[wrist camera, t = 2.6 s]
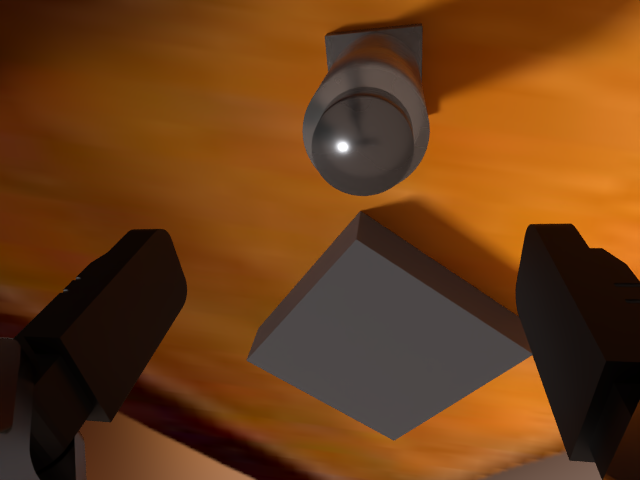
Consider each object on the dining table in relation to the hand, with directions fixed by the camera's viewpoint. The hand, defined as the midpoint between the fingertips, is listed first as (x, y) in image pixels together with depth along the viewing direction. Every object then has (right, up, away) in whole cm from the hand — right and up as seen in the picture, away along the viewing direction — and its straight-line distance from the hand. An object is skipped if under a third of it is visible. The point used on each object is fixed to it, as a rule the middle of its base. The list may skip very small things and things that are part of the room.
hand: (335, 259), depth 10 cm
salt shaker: (+3, +10, +14) cm, 17 cm away
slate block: (+5, -6, +25) cm, 26 cm away
